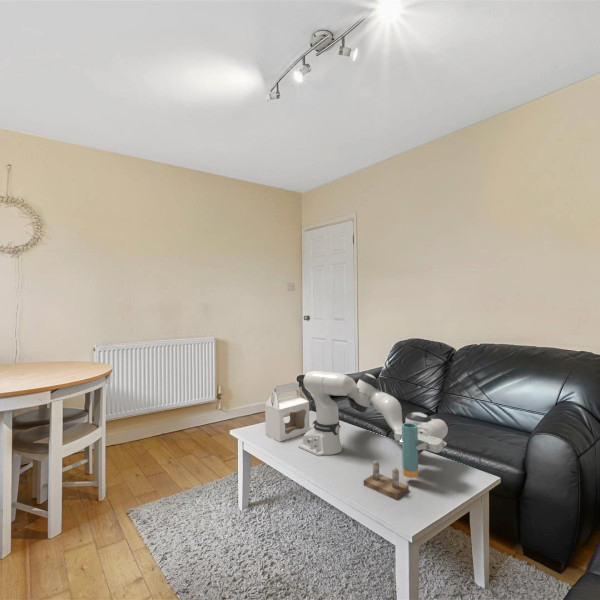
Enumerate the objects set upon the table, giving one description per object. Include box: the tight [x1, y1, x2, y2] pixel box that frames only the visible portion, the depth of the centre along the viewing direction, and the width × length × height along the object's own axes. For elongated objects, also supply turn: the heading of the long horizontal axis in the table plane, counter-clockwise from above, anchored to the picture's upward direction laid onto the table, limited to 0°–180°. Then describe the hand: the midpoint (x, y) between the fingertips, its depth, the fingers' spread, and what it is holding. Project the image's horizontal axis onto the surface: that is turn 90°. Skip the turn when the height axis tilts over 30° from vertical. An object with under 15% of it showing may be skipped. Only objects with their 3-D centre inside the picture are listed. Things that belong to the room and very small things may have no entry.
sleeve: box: [401, 422, 419, 479], centre depth 145 cm, size 6×6×20 cm
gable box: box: [264, 381, 310, 443], centre depth 201 cm, size 22×13×28 cm, turn 131°
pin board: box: [363, 460, 409, 501], centre depth 141 cm, size 15×9×9 cm, turn 43°
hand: (408, 445), depth 144 cm, fingers closed on sleeve, 6 cm apart
